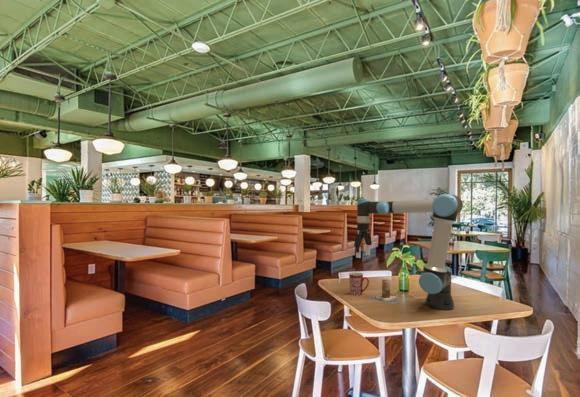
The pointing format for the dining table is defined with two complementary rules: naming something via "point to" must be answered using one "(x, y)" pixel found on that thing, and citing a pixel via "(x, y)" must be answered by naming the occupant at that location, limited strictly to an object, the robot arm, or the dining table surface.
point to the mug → (356, 283)
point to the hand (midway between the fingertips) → (363, 256)
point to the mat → (385, 301)
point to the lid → (386, 292)
